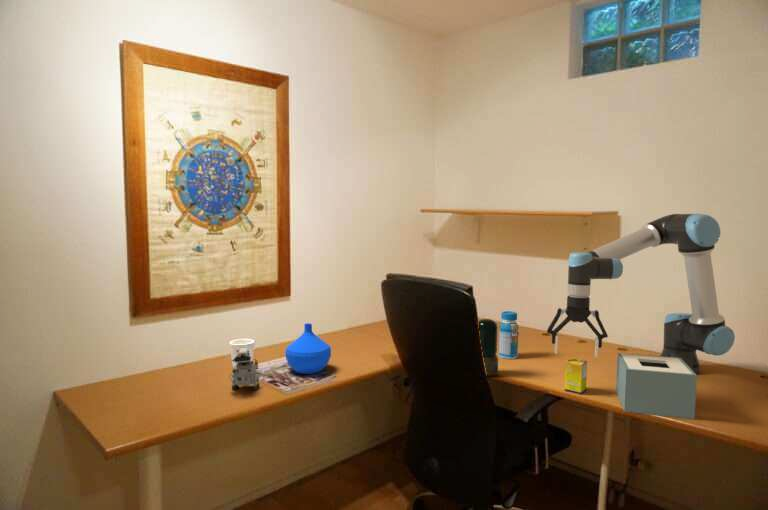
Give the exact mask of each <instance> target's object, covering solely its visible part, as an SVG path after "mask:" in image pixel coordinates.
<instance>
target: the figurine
mask: <svg viewBox="0 0 768 510" xmlns="http://www.w3.org/2000/svg"><path fill="white" fill-rule="evenodd" d="M236 351H238V350H236ZM251 357H252V353H251V352H250V350H249V349H248V348H240V350H239V351H238V352H237V354H236V355H235V357H234V360H232V359H231V362H232V361H235V363H236V365H235V366H234V367H233V366H232V370H231V371H232V373H231V375H230V376H229V377H230V380H231V384H232V385H231V390H235V391H236V390H237V388H238V387H239V386H242V387H243V386H244V387H245V386H250V385H252V391H257V390H258V388H259V387H260V385H261V384H260V381H259V379H260V377H259V374H258V373H257V371H256V370H259V362H258V360H257V359H256V358H254V359H253V360H252V361H251Z"/></svg>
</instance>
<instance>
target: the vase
mask: <svg viewBox="0 0 768 510" xmlns="http://www.w3.org/2000/svg"><path fill="white" fill-rule="evenodd" d="M312 324H313V323H309V322H308V323H307V322H306V323H304V327H303V328H304V330H303V332H302V334H301V335H300V336H299V337H298V338H296V339H295V340H294V341H292V342H291V343H290V344H288V345H287V347H286V349H285V353H284V354H285V355H284V356H285V359H286V361H287V363H288V364H287V365H289V366H290V368H291V370H292V371H294V372H296V373H298V374H299V375H300V374H303V375H313V374H317V373H320V372H322V371H323V370H324V369H325V367H326V366H327V365H328V363H329V362H330V359H331V356H332V347H331V346H330V344H328V343H327V342H325V341H324V340H323V339H321V338H320V337H318V336H317V334H315V333H314V332H313V327H312V326H313V325H312Z"/></svg>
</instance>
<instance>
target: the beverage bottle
mask: <svg viewBox="0 0 768 510" xmlns="http://www.w3.org/2000/svg"><path fill="white" fill-rule="evenodd" d="M501 320H502V321H501V322H500V325H499V331H498V335H499V337H498V339H499V340H498V343H499V344H498V346H499V347H498V348H499V349H498V356H499V357H500V358H502V359H506V360H508V359H509V360H513V359H514V360H515V359H517V358H518V357H519V354H518V353H519V349H518V348H519V334H520V333H519V325H518V323H517V320H518V313H517V312H516V311H512V310H511V311H510V310H508V311H505V310H504V311H501Z"/></svg>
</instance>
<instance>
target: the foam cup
mask: <svg viewBox="0 0 768 510" xmlns="http://www.w3.org/2000/svg"><path fill="white" fill-rule="evenodd" d="M228 346H229V347H228V349H229V350H230V356H231V357H230V358H231V362H232V363H231V364H232V368H233V367H234V366H235V365H236V363H235V361H232V360H234V357H235V355H236V354H237V352H238V351H239V350H240V348H248V349H249V350H250V352H251V353H252V357H251V361H253V360H254V359H253V358H254V349H255V340H254V339H251V338H238V339H233V340H230V341H229V345H228ZM236 350H238V351H236Z"/></svg>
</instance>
